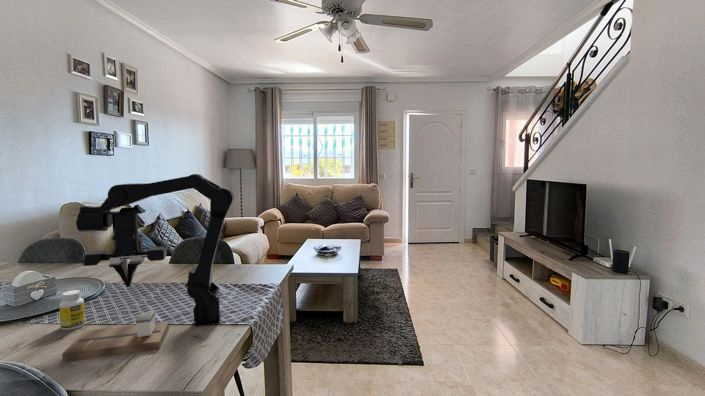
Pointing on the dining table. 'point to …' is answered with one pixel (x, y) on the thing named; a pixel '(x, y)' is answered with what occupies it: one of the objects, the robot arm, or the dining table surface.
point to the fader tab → (145, 324)
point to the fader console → (114, 342)
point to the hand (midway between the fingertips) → (128, 286)
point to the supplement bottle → (71, 310)
